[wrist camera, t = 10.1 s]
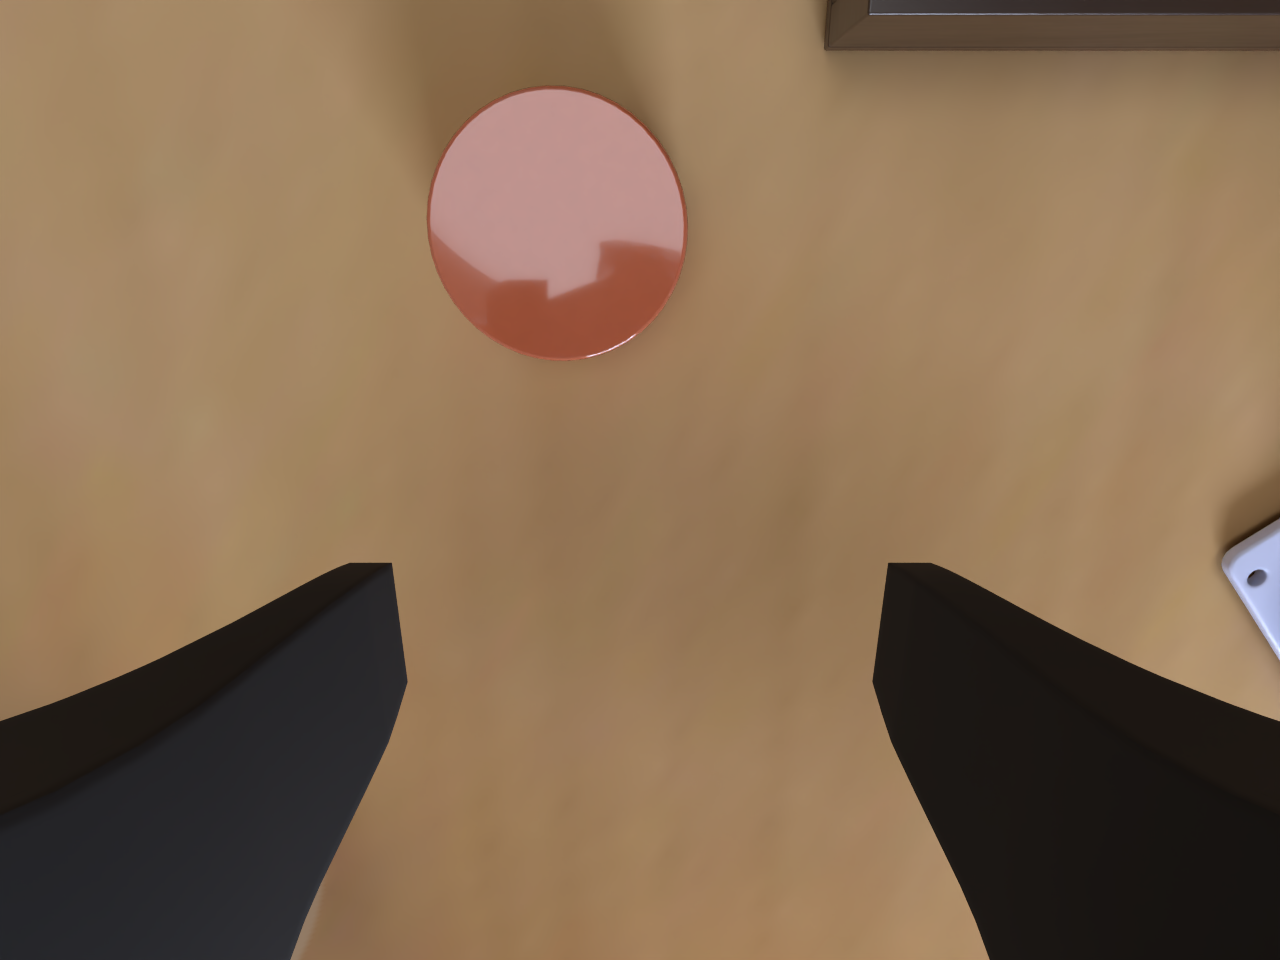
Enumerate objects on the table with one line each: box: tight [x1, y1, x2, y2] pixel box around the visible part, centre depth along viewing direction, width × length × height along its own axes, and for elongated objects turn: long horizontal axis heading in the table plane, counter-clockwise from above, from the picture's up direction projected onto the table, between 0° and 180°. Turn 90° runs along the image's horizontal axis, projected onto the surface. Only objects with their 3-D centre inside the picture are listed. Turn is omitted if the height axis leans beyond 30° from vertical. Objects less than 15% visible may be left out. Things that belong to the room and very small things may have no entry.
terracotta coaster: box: [427, 85, 688, 361], centre depth 17 cm, size 6×6×2 cm
